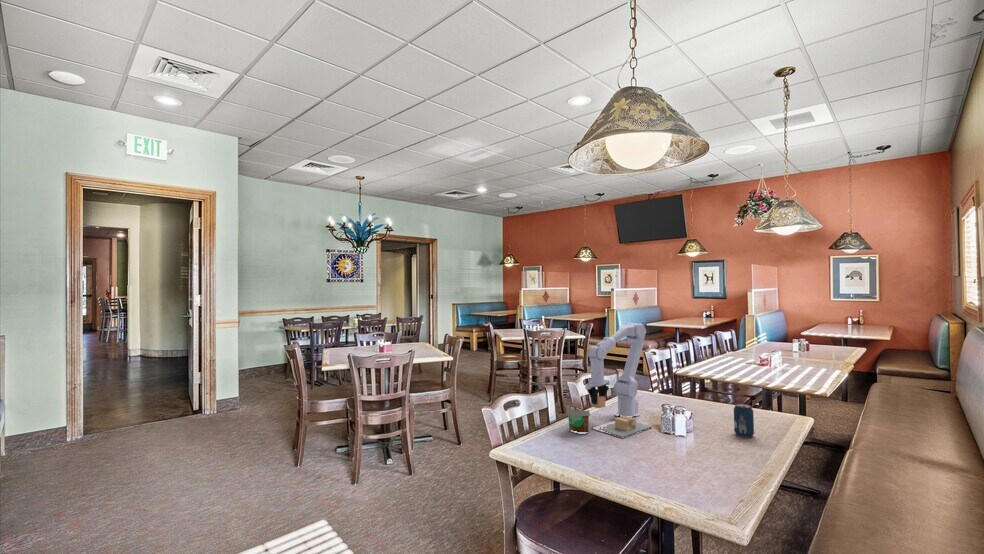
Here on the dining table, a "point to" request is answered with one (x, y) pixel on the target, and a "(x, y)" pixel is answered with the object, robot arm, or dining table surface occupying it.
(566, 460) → the dining table surface
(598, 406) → the terracotta block
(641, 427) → the slate board
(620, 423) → the oak base block
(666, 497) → the dining table surface
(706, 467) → the dining table surface
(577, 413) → the food container
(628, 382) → the robot arm
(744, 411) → the soda can
